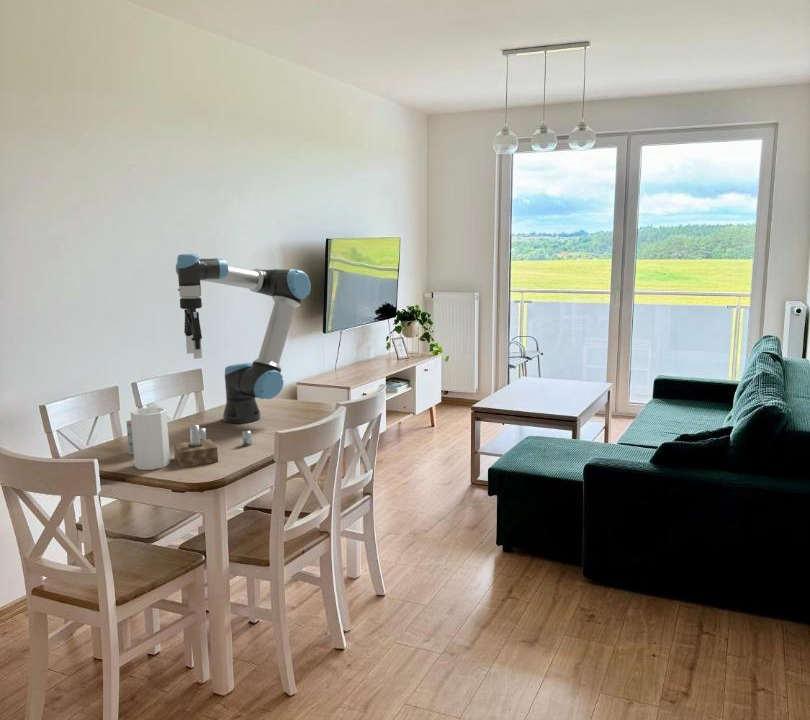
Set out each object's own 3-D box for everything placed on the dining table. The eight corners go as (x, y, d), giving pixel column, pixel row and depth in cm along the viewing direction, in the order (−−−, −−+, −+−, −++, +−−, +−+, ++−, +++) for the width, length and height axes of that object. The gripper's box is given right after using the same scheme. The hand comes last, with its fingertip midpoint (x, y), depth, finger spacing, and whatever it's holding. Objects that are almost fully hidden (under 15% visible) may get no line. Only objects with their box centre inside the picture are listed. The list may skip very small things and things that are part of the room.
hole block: (210, 452, 260) (209, 439, 260) (218, 461, 250) (217, 447, 249) (175, 457, 255) (174, 443, 254) (181, 467, 245) (180, 452, 244)
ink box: (157, 452, 262) (155, 419, 261) (147, 456, 258) (144, 422, 256) (138, 450, 266) (135, 417, 264) (128, 453, 262) (125, 420, 260)
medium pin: (206, 449, 265) (204, 427, 264) (207, 451, 262) (206, 429, 261) (196, 450, 264) (195, 428, 263) (198, 452, 261) (197, 430, 260)
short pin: (250, 443, 272) (249, 429, 271) (252, 445, 269) (252, 431, 269) (241, 444, 271) (241, 430, 270) (244, 446, 268) (243, 432, 267)
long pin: (200, 458, 255) (198, 423, 253) (202, 460, 252) (199, 425, 250) (190, 459, 253) (188, 425, 251) (192, 461, 250) (190, 427, 248)
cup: (154, 458, 255) (150, 405, 252) (177, 463, 249) (173, 408, 246) (127, 467, 246) (122, 412, 243) (150, 472, 240) (146, 416, 237)
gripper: (173, 295, 278) (177, 352, 282) (186, 300, 256) (190, 361, 259) (194, 294, 281) (198, 350, 285) (208, 299, 259) (211, 359, 263)
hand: (194, 355), depth 272 cm, fingers open, 13 cm apart
